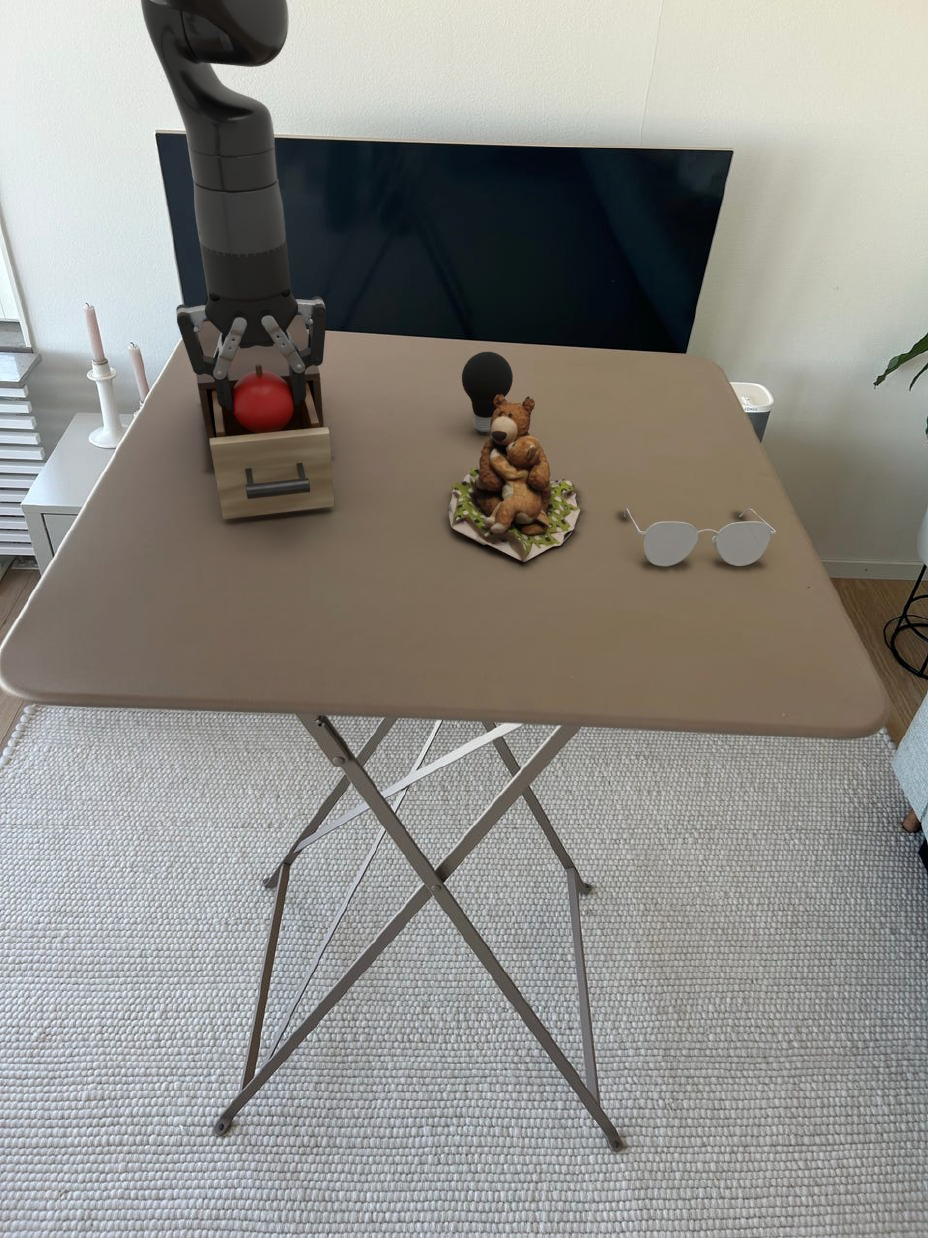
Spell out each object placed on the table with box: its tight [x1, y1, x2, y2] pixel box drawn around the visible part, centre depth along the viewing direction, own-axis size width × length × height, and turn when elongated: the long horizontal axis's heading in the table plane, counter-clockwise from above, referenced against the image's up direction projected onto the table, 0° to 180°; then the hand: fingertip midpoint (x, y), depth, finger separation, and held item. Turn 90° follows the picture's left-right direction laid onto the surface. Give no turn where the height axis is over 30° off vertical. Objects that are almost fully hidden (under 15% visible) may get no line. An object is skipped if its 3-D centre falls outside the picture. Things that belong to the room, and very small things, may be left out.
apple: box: [231, 364, 294, 433], centre depth 88 cm, size 6×6×7 cm
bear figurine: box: [447, 394, 581, 563], centre depth 90 cm, size 14×15×12 cm
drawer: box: [209, 381, 335, 520], centre depth 91 cm, size 18×11×9 cm, turn 15°
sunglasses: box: [623, 507, 777, 567], centre depth 91 cm, size 14×8×5 cm, turn 93°
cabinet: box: [195, 314, 325, 471], centre depth 101 cm, size 15×13×11 cm
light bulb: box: [461, 351, 514, 434], centre depth 103 cm, size 6×6×10 cm
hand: (263, 404), depth 89 cm, fingers closed on apple, 6 cm apart
